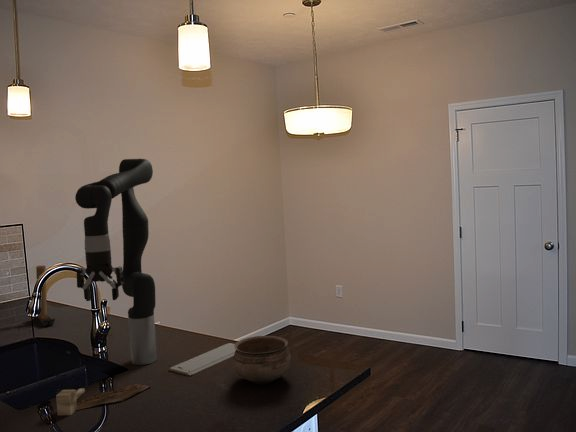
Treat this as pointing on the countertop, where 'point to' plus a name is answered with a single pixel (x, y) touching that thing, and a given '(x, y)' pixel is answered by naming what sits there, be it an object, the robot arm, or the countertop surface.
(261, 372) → the cooking pot
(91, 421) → the countertop surface
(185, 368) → the baseboard molding
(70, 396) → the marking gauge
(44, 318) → the hammer
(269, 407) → the countertop surface
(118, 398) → the wooden fragment
